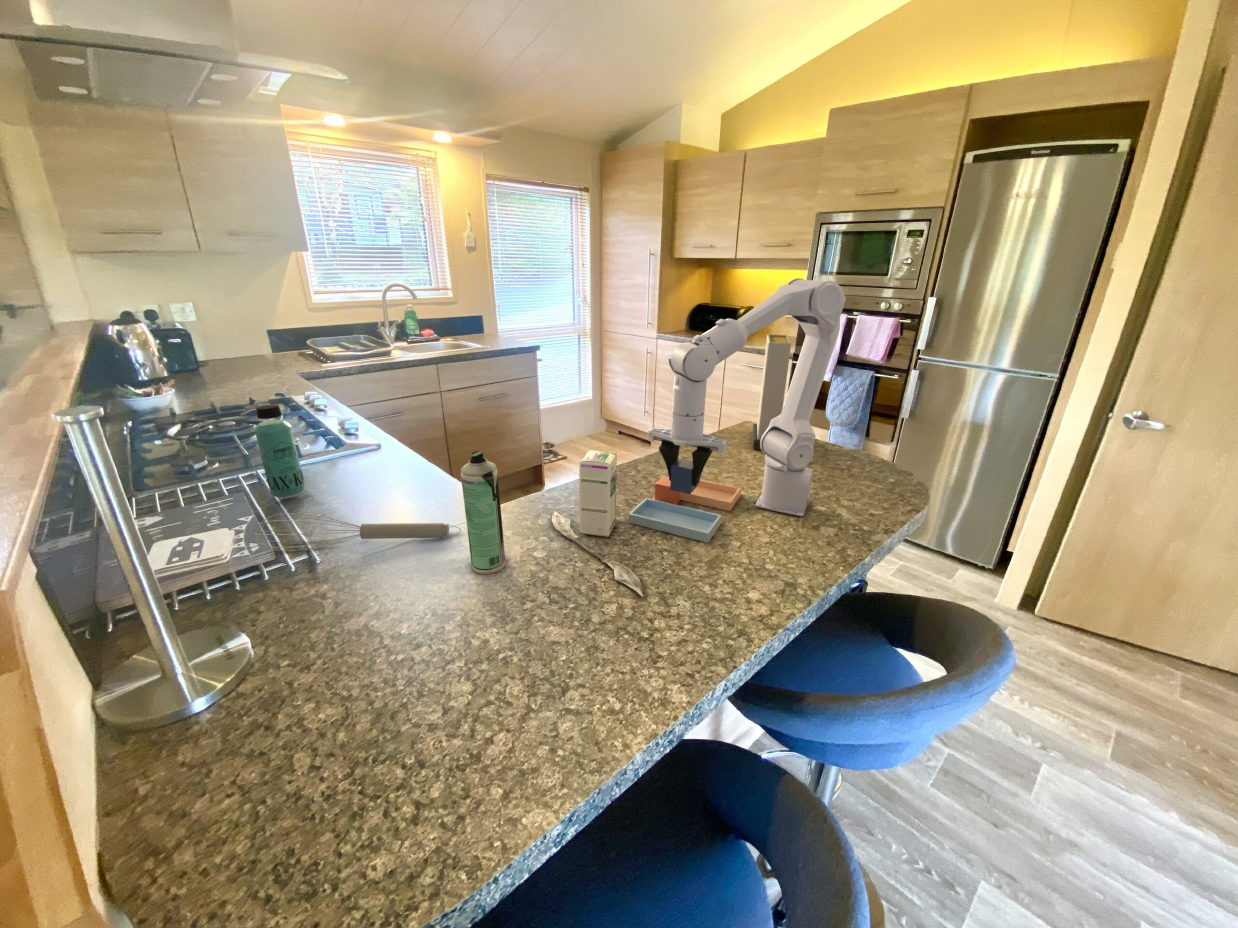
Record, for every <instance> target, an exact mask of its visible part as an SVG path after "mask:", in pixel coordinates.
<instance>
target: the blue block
mask: <svg viewBox="0 0 1238 928" xmlns="http://www.w3.org/2000/svg"><path fill="white" fill-rule="evenodd" d="M692 476H693V460H688V459H683V458H678V460H677V461H676V462H675V463H674V464H673V465H672V466H671V484H670V490H673V491H677V492H682V493H686V494H691V493H692V492H693V491H694V489H695V488H696V487H697V485H696V486H692Z"/></svg>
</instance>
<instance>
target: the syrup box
mask: <svg viewBox="0 0 1238 928" xmlns="http://www.w3.org/2000/svg"><path fill="white" fill-rule="evenodd" d="M578 465H579V486H578V487H579V489H578V490H579V503H578V504H579V505H578V506H579V516H578V517H579V533H580V534H586V535H591V536H599V537H606V538H607V537H610V534H611V533H612V531H613V528H614V527H615V525H616V520H617V519H616V517H617V514H616V512H617V475H618V474H617V472H618V470H617V469H618V454H617V453H615V452H611V451H610V452H609V451H602V450H587V452H586V453H585V455H584V456H582V457H581V459H580V460H579V464H578Z"/></svg>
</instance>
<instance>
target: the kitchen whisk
mask: <svg viewBox="0 0 1238 928" xmlns="http://www.w3.org/2000/svg"><path fill="white" fill-rule="evenodd" d="M283 515H300V516H310V517H304V519H306V520H300V522H303V523H305V522H306V523H315V524H324V525H330V526H338V527H344V528H350V529H328V532H318V533H317V532H315V533H313V532H311V533H309V535H324V534H325V535H328V534H332V535H333V532H334V531H336V534H352V533H353V534H354V533H356V532H359V534H354V535H349V536H344V537H339V538H333V539H327V540H320V541H308V542H305V544H304V542H285V544H287V545H288V544H289V545H293V546H271V545H266V544H265V543H264V542H263V541H262V540H261V537H262V538H263V539H265V540H267V541H270V542H273V543H277V544H283V542H280V541H276V540H271V539H269V538H267V537H264V536H296V535H297V536H299V535H304V533H284V534H283V533H273V534H272V533H267V532H270V530H263V531H261V530H262V528H263V527H265V526H266V525H268V524H270V523H275V522H298V520H295V519H293V520H292V519H291V520H290V519H289V517H282V518H277V519H274V520H268V521H266V520H267V519H270V518H273V517H276V516H283ZM313 517H314V518H313ZM316 517H317V518H316ZM307 519H308V520H318V521H308V520H307ZM320 521H324V522H320ZM327 522H329V523H327ZM450 527H452V528H457V529H459V531H458V532H456V533H451V534H450ZM351 528H352V529H351ZM356 529H357V530H356ZM284 531H285V532H286V531H288V532H290V531H292V529H277V530H276V529H274V530H271V532H284ZM329 531H333V532H329ZM461 532H462V531H461V528H460V527H458V526H455V525H449V523H444V522H415V523H414V522H409V523H403V522H401V523H399V522H398V523H362V524H360V525H357V524H353V523H350V522H346V521H342V520H339V519H334V518H330V517H326V516H320V515H313V514H307V513H298V512H297V513H296V512H295V513H292V512H291V513H288V512H285V513H278V514H273V515H270V516H268V517H265V519H263V521H261V522H260V523H259V525H258V526H257V532H254V535H256V538H255V540H256V541H257V543H258V544H259V545H261V546H264V547H265V548H268V549H269V550H272V551H279V552H299V551H307V550H312V549H313V550H314V549H319V548H322V547H327V546H332V545H335V544H339V543H340V544H341V543H343V542H347V541H350V540H353V539H356V538H357V539H358V538H360V539H361V540H379V539H380V540H382V539H383V540H385V539H387V540H388V539H391V540H393V539H442V538H446V537H447V538H448V537H449V536H454V535H457V534H460V533H461ZM260 536H261V537H260ZM336 541H337V542H336ZM331 542H333V543H331ZM326 543H329V544H326ZM296 544H297V545H296ZM298 544H300V545H298ZM301 544H303V545H301ZM321 544H324V545H321ZM315 545H320V546H316V547H315ZM307 546H314V547H309V548H302V549H290V548H301V547H307ZM285 548H287V549H286V550H285ZM288 548H289V549H288Z"/></svg>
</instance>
